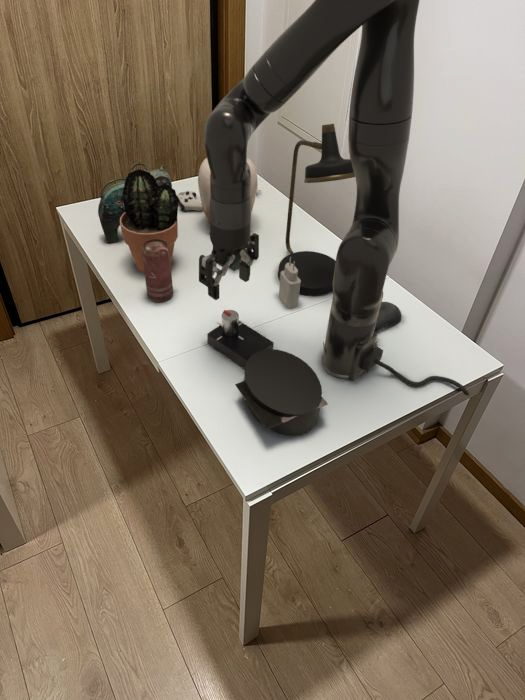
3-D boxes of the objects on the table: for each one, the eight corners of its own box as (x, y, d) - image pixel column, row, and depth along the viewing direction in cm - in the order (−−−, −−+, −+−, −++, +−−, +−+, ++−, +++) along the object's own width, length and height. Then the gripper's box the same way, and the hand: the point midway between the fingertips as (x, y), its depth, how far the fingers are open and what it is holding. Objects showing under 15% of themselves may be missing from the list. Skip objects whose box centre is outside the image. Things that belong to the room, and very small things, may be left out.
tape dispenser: (288, 365, 114) (288, 339, 109) (335, 422, 102) (338, 395, 97) (226, 389, 109) (224, 362, 104) (268, 451, 97) (268, 424, 92)
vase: (236, 247, 144) (237, 166, 128) (188, 229, 149) (184, 149, 133) (265, 222, 154) (270, 144, 138) (219, 206, 159) (219, 129, 143)
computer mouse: (413, 323, 124) (417, 310, 122) (370, 348, 117) (374, 336, 115) (381, 301, 130) (384, 288, 127) (338, 324, 123) (341, 311, 120)
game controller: (206, 208, 156) (191, 197, 152) (194, 221, 157) (179, 211, 153) (196, 193, 162) (182, 181, 158) (185, 206, 164) (170, 195, 160)
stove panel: (272, 352, 115) (273, 341, 113) (247, 371, 111) (248, 360, 108) (230, 324, 121) (230, 313, 119) (204, 341, 117) (204, 331, 114)
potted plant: (142, 286, 129) (128, 191, 112) (117, 259, 137) (101, 166, 120) (190, 269, 136) (185, 176, 118) (164, 244, 143) (156, 153, 126)
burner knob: (241, 331, 115) (242, 314, 112) (230, 339, 113) (230, 322, 110) (229, 323, 117) (230, 306, 113) (218, 331, 115) (218, 314, 111)
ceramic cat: (171, 222, 151) (166, 154, 137) (179, 234, 147) (173, 164, 133) (101, 235, 145) (88, 165, 131) (106, 248, 141) (93, 176, 127)
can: (169, 305, 125) (164, 255, 115) (144, 300, 126) (136, 250, 116) (177, 289, 129) (173, 240, 120) (152, 285, 130) (146, 236, 120)
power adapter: (287, 309, 126) (291, 267, 118) (277, 295, 129) (281, 254, 121) (298, 306, 127) (304, 264, 119) (289, 292, 130) (293, 251, 122)
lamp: (300, 305, 127) (319, 147, 100) (258, 258, 141) (265, 107, 114) (356, 288, 133) (388, 134, 106) (310, 244, 146) (329, 98, 120)
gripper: (216, 240, 91) (217, 313, 102) (271, 211, 99) (266, 281, 110) (186, 223, 94) (190, 295, 105) (242, 196, 102) (240, 266, 113)
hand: (229, 288), depth 108 cm, fingers open, 8 cm apart
